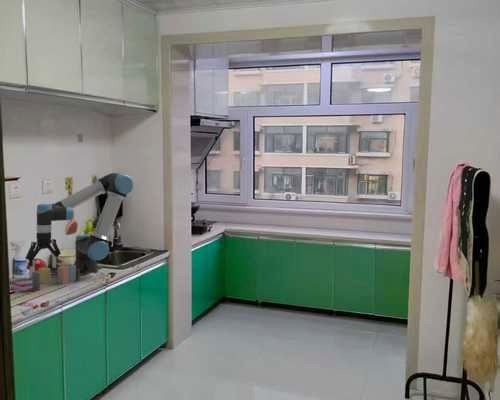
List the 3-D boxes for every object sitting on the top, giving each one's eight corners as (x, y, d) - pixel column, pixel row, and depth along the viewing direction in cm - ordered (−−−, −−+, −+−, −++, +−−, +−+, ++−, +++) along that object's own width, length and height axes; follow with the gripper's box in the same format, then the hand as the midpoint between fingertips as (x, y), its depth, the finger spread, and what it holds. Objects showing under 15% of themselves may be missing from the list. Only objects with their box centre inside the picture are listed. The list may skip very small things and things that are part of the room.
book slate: (70, 279, 269) (70, 264, 268) (76, 281, 267) (76, 265, 266) (64, 280, 266) (64, 265, 265) (70, 282, 263) (70, 266, 262)
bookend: (34, 288, 250) (34, 271, 249) (39, 290, 247) (39, 273, 246) (28, 289, 247) (27, 273, 246) (33, 291, 244) (33, 274, 243)
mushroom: (27, 276, 275) (26, 256, 274) (47, 275, 279) (47, 255, 278) (25, 281, 266) (25, 260, 264) (46, 280, 269) (46, 260, 268)
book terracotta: (63, 281, 265) (63, 265, 264) (69, 282, 263) (69, 267, 262) (57, 282, 262) (57, 266, 261) (63, 284, 259) (63, 268, 259)
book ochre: (44, 282, 265) (44, 267, 264) (50, 284, 263) (50, 268, 262) (38, 284, 262) (38, 268, 261) (43, 285, 259) (43, 269, 258)
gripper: (59, 228, 272) (58, 264, 274) (18, 233, 250) (18, 272, 252) (67, 230, 268) (67, 266, 270) (27, 235, 247) (26, 274, 249)
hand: (43, 269), depth 261 cm, fingers open, 13 cm apart
